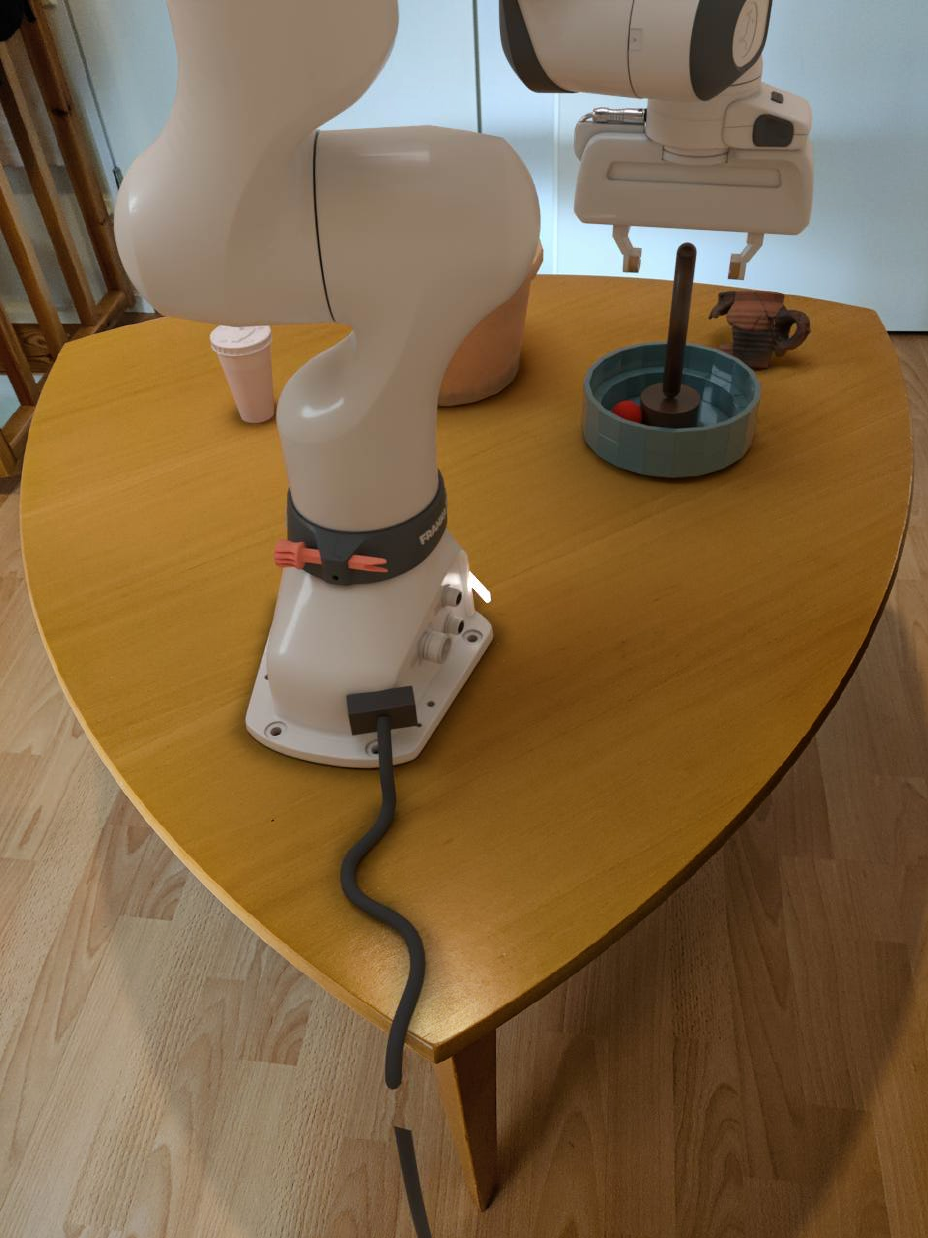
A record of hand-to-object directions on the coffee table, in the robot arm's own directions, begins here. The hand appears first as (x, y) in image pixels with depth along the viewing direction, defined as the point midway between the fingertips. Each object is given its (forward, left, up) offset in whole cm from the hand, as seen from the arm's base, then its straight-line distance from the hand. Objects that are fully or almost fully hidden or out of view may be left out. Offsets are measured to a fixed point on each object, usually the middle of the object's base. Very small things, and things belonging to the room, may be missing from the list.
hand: (683, 273), depth 91 cm
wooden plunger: (+1, 0, -17) cm, 17 cm away
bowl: (0, 0, -17) cm, 17 cm away
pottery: (+9, +26, -18) cm, 33 cm away
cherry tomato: (-1, +4, -15) cm, 15 cm away
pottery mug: (+19, -8, -18) cm, 27 cm away
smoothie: (-4, +44, -18) cm, 48 cm away
